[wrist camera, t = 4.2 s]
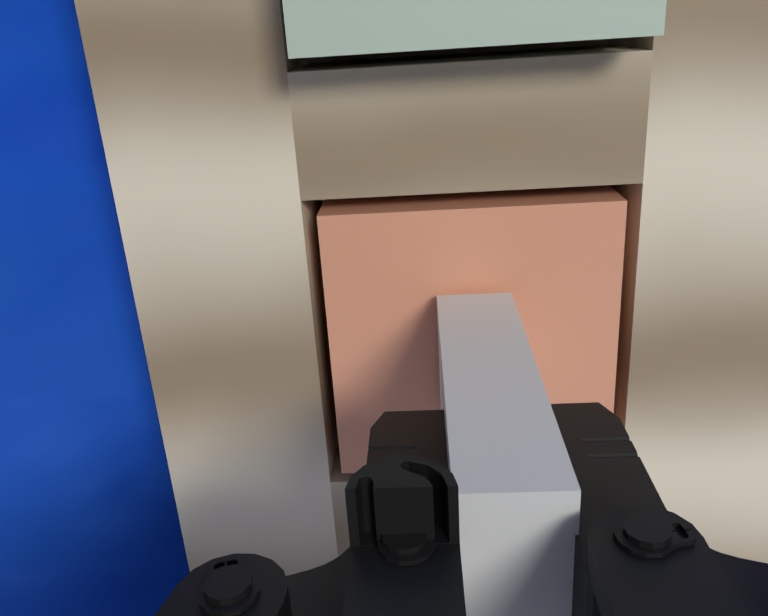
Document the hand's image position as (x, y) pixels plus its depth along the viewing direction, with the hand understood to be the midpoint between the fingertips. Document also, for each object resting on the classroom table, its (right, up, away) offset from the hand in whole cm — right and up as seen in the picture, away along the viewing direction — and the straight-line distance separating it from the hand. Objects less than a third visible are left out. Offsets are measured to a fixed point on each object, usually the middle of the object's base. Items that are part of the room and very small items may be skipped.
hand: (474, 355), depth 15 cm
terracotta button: (0, +1, +3) cm, 3 cm away
